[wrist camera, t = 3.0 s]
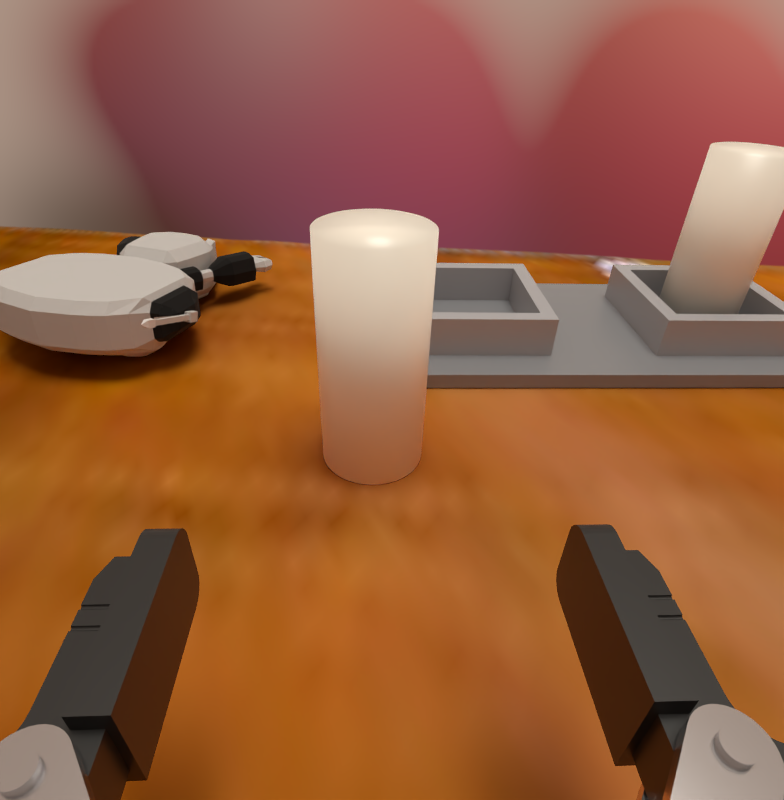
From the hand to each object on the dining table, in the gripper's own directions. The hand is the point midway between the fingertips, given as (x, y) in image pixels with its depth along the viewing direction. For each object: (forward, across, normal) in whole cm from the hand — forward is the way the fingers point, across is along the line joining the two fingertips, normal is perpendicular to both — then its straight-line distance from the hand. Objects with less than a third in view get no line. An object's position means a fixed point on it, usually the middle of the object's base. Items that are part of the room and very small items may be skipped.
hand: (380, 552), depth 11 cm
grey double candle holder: (+22, -13, +6) cm, 26 cm away
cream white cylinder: (+11, 0, +7) cm, 13 cm away
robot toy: (+24, +14, +7) cm, 29 cm away
